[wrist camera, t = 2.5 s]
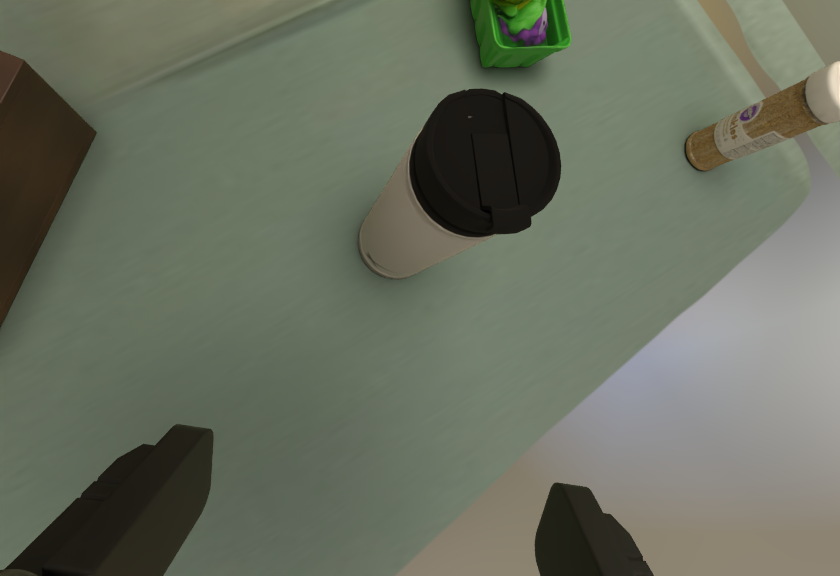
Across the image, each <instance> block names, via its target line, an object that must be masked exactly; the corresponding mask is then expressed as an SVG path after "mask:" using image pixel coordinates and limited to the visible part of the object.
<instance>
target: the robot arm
mask: <svg viewBox="0 0 840 576" xmlns="http://www.w3.org/2000/svg"><path fill="white" fill-rule="evenodd" d="M212 454H213V431H212V430H211V429H207V428H200V427H194V426H187V425H181V424H176V425H174V426H173V427H172V428H171V429H170V430H169V431H168V432H167V433H166V434H165V435H164V436H163V437H162V439H161V440H160V441H159V442H158V443H157V444H156V445H155V446H154V445H147V444H143V445H141V446H139V447H137V448H135V449H134V450H132V451H130V452H128V453H126V454H125V455H123V456H121V457H119V458H117V459H116V460H115V461H114V462H113V463H112V464H111V465H110V466H109V467H108V468H107V469H106V470H105V471H104V472H103V473H102V474H101V475H100V476H99V477H98V480H97V481H94V482H93V483H92V484H91V485H90V486H89V487H88V488H87V489H86V490H85V491H84V492H83V493H82V495H81V497H80V498H77V499H76V500H75V501H74V502H73V503H72V504H71V505H70V506H69V507H68V508H67V509H66V510H65V511H64V512H63V513H62V514H61V515H60V516H58V517H57V518H56V519H55V520H54V521H53V522H52V523H51V524H50V525H49V526H48V527H47V528H46V529H45V530H44V531H43V532H42V533H41V534H40V535H39V536H38V537H37V538H36V539H35V540H34V541H33V542H32V543H31V544H30V545H29V546H28V547H27V548H26V549H25V550H24V551H23V552H22V553H21V554H20V555H19V556H18V557H17V558H16V559H15V560H14V561H13V562H12V563H11V564H10V565H9V566H7V567H6V568H5V569H4V570H0V576H163V575H164V573H165V572H166V570H167V569H168V567H169V565H170V564H171V562H172V560H173V559H174V557H175V556H176V554H177V552H178V551H179V549H180V547H181V546H182V544H183V543H184V541H185V539H186V538H187V536H188V534H189V533H190V531H191V530H192V528H193V526H194V525H195V523H196V521H197V520H198V518H199V517H200V515H201V513H202V511H203V509H204V507H205V504H206V502H207V498H208V495H209V491H210V486H211V472H212ZM535 557H536V562H537V566H538V569H539V572H540V576H654V575H653V573H652V572H651V570H650V568H649V566H648V565H647V563H646V561H643V556H642V554H641V553H640V551H639V549H638V548H637V546H636V544H635V542H634V541H633V539H632V537H631V535H630V534H629V533H628V532H627V531H626V530H625V529H624V528H623V527H622V526H621V525H620V524H619V523H618V522H617V520H616V519H615V518H614V517H613V516H612V515H611V514H605V513H603V512H602V510H601V508H600V506H599V505H598V503H597V501H596V499H595V497H594V495H593V493H592V492H591V490H590V489H589V488H587V487H583V486H576V485H570V484H563V483H554V484H553V485H552V487H551V489H550V492H549V495H548V499H547V501H546V505H545V508H544V511H543V514H542V517H541V520H540V523H539V526H538V529H537V532H536V538H535Z"/></svg>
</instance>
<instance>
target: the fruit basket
mask: <svg viewBox="0 0 840 576" xmlns="http://www.w3.org/2000/svg"><path fill="white" fill-rule="evenodd" d="M470 6H471V11H472V16H473V19H474V21H475V32H476V37H477V42H478V44H479V46H480V58H481V63H482V66H483V67H484V68H488V67H491V66H495V67H517V66H519V65H520V66H522V67H529V66H530V65H532V64H534V63H536V62H538V61H539V60H541V59H543V58H545V57H547V56H548V55H550V54H552V53H554V52H558V51H561V50H563V49H565V48H567V47H568V46H569V45H570V44H571V34H570V30H569V25H568V20H567V14H566V11H565V5H564V1H563V0H470Z"/></svg>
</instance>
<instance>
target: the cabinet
mask: <svg viewBox="0 0 840 576" xmlns="http://www.w3.org/2000/svg"><path fill="white" fill-rule="evenodd" d="M95 135H96V131H95V130H94V129H93V128H92V127H91V126H90V125H89V124H88V123H87V122H86V121H85V120H84V119H83V118H82V117H81V116H80V115H79V114H78V113H77V112H76V111H75V110H74V109H73V108H72V107H71V106H70V105H69V104H68V103H67V102H66V101H65V100H64V99H63V98H62V97H60V96H59V95H58V94H57V93H56V92H55V91H54V90H53V89H52V88H51V87H50V86H49V85H48V84H47V83H46V82H45V81H44V80H43V79H42V78H41V77H40V76H39V75H38V74H37V73H36V72H35V71H34V70H33V69H32V68H31V67H30V66H29V65H28V64H27V63H26V62H25V61H24V60H22V59H20V58H17V57H15V56H13V55H10V54H8V53H5V52H3V51H0V326H1V324H2V322H3V320H4V318H5V316H6V314H7V312H8V310H9V308H10V306H11V304H12V302H13V300H14V298H15V296H16V294H17V292H18V290H19V288H20V286H21V284H22V282H23V280H24V278H25V276H26V274H27V272H28V270H29V268H30V266H31V264H32V262H33V260H34V258H35V256H36V254H37V251H38V249H39V247H40V245H41V243H42V241H43V239H44V237H45V235H46V233H47V231H48V229H49V227H50V225H51V223H52V221H53V219H54V217H55V215H56V213H57V211H58V209H59V207H60V205H61V203H62V201H63V199H64V197H65V195H66V193H67V191H68V189H69V187H70V185H71V183H72V181H73V179H74V177H75V175H76V173H77V171H78V169H79V167H80V165H81V163H82V161H83V159H84V157H85V155H86V153H87V151H88V149H89V147H90V145H91V143H92V141H93V139H94V137H95Z"/></svg>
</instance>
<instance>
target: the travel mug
mask: <svg viewBox="0 0 840 576" xmlns="http://www.w3.org/2000/svg"><path fill="white" fill-rule="evenodd" d="M560 174H561V160H560V152H559V149H558V146H557V142H556V140H555V137H554V135H553V133H552V131H551V129H550V128H549V126H548V125H547V123H546V122H545V121H544V119H543V118H542V116H541V115H540V114H539V113H538V112H537V111H536V110H535V109H534V108H533V107H532V106H530V105H529V104H528V103H526V102H525V101H524V100H522V99H521V98H518V97H516V96H513V95H511V94H508V93H505V92H504V93H503V94H500V93H498V92H497V91H494V90H488V89H469V90H467V91H466V90H463V91H460V92H456V93H453V94H450V95H448V96H447V97H446V98H444V99H443V100H442V101H441V102H440V103H439V104H438V105H437V107H436V108H435V110H434V111H433V112H432V114H431V116H430V117H429V119H428V120H427V122H426V124H425V125H424V127H423V128H422V129H421V130H420V132H419V133H418V135H417V136H416V137H415V139H414V141H413V143H412V144H411V145H410V147H409V149H408V150H407V152H406V154H405V155H404V157H403V158H402V160H401V162H400V163H399V165H398V167H397V168H396V170H395V171H394V173H393V175H392V176H391V178H390V180H389V181H388V183H387V184H386V186H385V188H384V189H383V191H382V193H381V194H380V196H379V197H378V199H377V201H376V202H375V204H374V206H373V207H372V209H371V210H370V212H369V214H368V215H367V217H366V219H365V220H364V222H363V223H362V226H361V228H360V230H359V235H358V247H359V252H360V254H361V257H362V259H363V261H364V262H365V264H366V265H367V266H368V267H369V268H370V269H371V270H372V271H373V272H375V273H376V274H378V275H380V276H382V277H384V278H389V279H403V278H407V277H409V276H412V275H414V274H416V273H418V272H420V271H422V270H424V269H426V268H429V267H431V266H433V265H435V264H437V263H439V262H441V261H443V260H445V259H447V258H449V257H452V256H454V255H456V254H458V253H460V252H462V251H464V250H466V249H468V248H470V247H472V246H475V245H477V244H479V243H481V242H483V241H485V240H487V239H489V238H491V237H493V236H495V235H498V234H512V233H518V232H520V231H522V230H524V229H527V228H529V227H530V226H531V217H532V216H533V215H535V214H537V213H538V212H540V211H541V210H543V209H544V208H545V206H546V205H547V204H548V203H549V202H550V201H551V200H552V198H553V196H554V194H555V192H556V190H557V187H558V184H559V180H560Z"/></svg>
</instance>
